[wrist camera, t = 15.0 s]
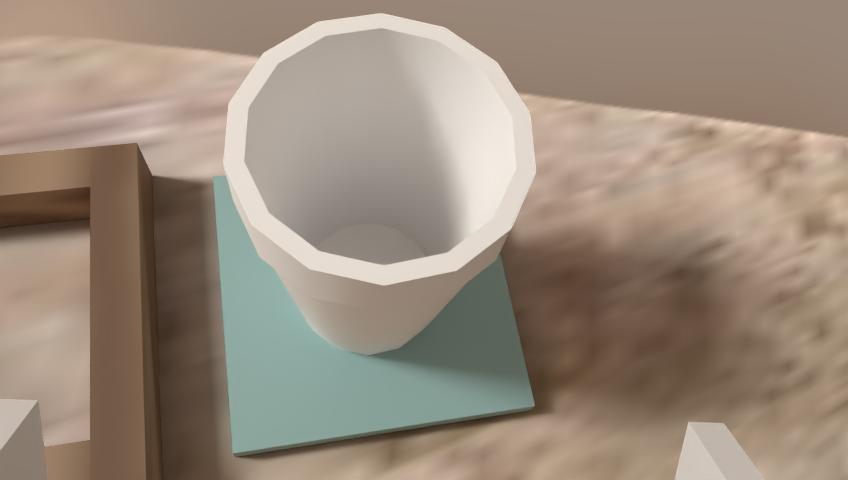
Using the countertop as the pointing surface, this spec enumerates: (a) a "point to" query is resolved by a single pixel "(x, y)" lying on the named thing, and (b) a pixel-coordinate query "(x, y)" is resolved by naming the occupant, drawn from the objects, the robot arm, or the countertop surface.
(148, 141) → the countertop surface
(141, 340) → the brown flat square frame
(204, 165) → the countertop surface
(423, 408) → the mat
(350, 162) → the foam cup
